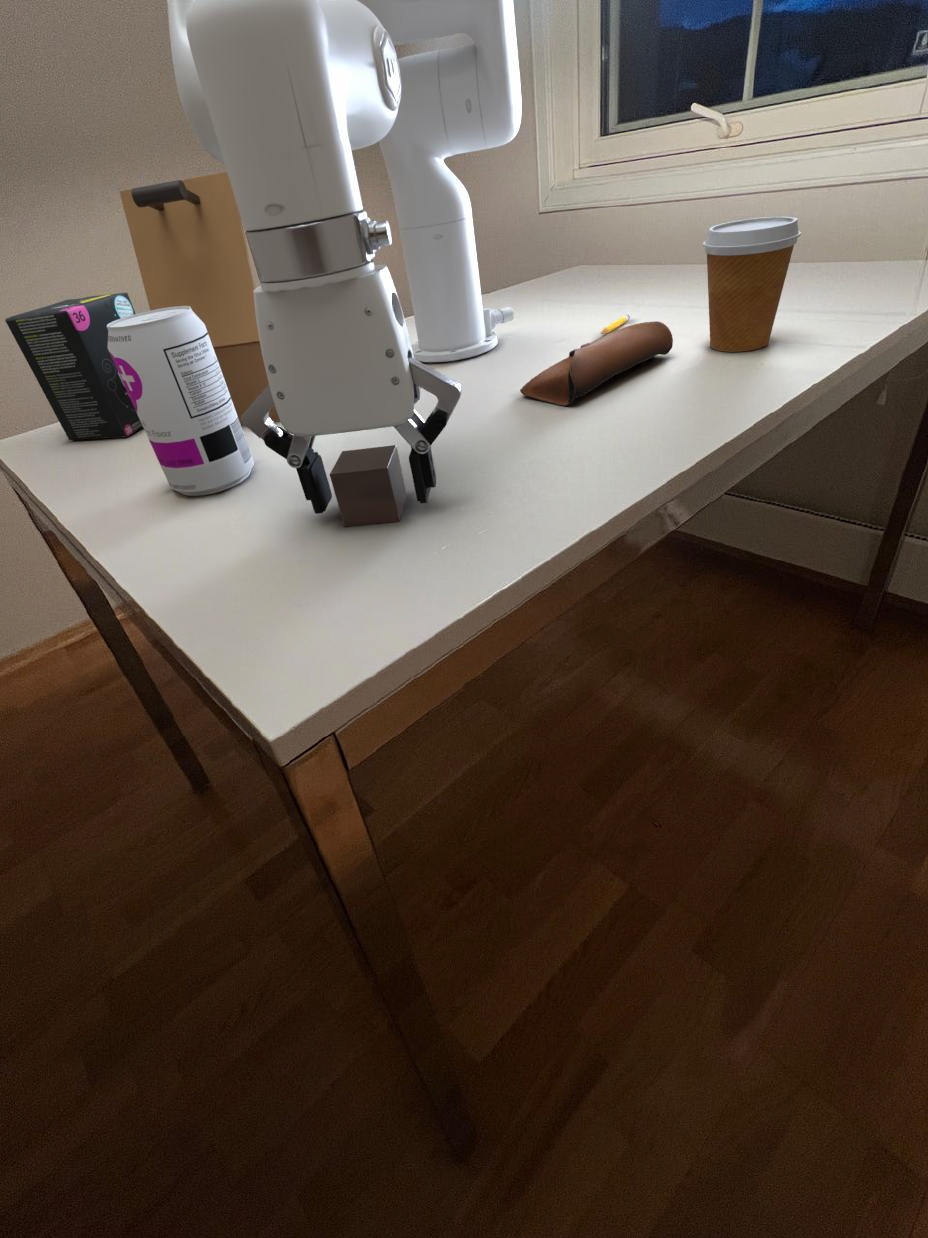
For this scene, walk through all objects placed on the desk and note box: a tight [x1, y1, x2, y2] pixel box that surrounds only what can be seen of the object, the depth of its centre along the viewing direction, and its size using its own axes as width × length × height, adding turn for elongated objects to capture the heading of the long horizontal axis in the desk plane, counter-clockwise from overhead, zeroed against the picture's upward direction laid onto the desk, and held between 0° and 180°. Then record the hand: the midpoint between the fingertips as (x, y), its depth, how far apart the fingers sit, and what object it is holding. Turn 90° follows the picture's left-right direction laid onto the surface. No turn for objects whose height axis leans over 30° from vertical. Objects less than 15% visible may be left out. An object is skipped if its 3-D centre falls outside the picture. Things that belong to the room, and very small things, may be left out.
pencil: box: [599, 314, 631, 335], centre depth 86 cm, size 1×8×1 cm, turn 143°
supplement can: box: [107, 306, 255, 497], centre depth 58 cm, size 8×8×15 cm
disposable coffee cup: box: [702, 216, 802, 353], centre depth 70 cm, size 10×10×12 cm
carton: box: [213, 341, 281, 427], centre depth 79 cm, size 15×12×9 cm
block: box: [329, 444, 408, 528], centre depth 50 cm, size 4×4×4 cm
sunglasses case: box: [519, 321, 674, 407], centre depth 70 cm, size 18×7×7 cm, turn 134°
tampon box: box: [4, 292, 143, 441], centre depth 79 cm, size 11×9×15 cm
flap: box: [119, 171, 260, 348], centre depth 65 cm, size 16×12×5 cm
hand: (373, 499), depth 51 cm, fingers open, 7 cm apart
